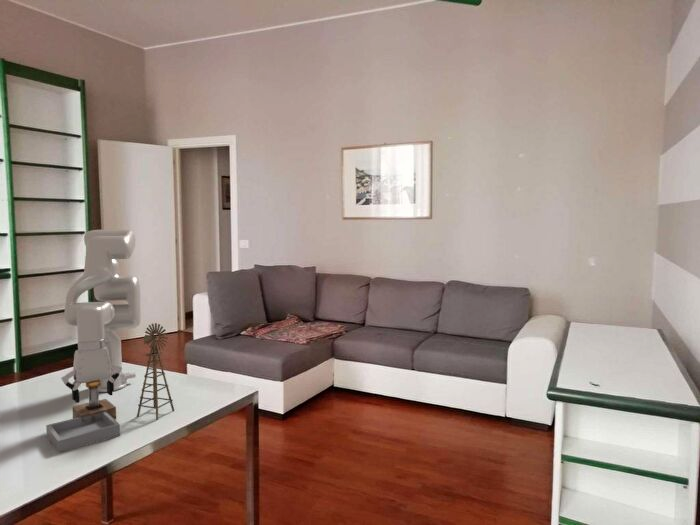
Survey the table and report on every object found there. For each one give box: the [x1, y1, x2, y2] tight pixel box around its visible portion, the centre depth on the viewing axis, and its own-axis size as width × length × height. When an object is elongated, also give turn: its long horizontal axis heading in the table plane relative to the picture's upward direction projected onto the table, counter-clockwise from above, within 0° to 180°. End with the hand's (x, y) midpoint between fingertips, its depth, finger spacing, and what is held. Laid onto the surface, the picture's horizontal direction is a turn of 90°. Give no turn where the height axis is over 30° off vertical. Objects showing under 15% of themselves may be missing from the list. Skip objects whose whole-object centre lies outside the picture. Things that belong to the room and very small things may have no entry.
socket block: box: [71, 398, 117, 423], centre depth 154 cm, size 10×10×4 cm
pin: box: [85, 380, 101, 410], centre depth 153 cm, size 4×4×12 cm
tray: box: [45, 412, 121, 453], centre depth 142 cm, size 16×14×3 cm
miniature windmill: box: [136, 322, 175, 421], centre depth 157 cm, size 9×8×30 cm
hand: (93, 397), depth 153 cm, fingers open, 9 cm apart
